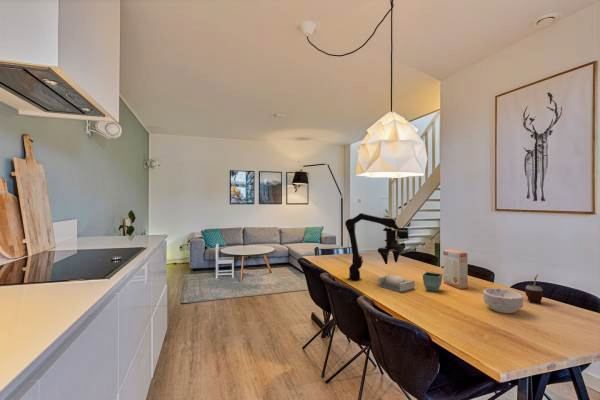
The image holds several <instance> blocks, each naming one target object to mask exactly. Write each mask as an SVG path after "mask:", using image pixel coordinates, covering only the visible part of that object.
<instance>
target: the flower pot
mask: <svg viewBox="0 0 600 400" xmlns="http://www.w3.org/2000/svg"><path fill="white" fill-rule="evenodd" d="M442 281H443V273H435V272H429V271H425V272H424V273H423V274H422V282H423V285H424V287H425V289H426V291H430V292H438V291H439V289H440V288H441V285H442Z"/></svg>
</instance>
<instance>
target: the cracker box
mask: <svg viewBox="0 0 600 400" xmlns="http://www.w3.org/2000/svg"><path fill="white" fill-rule="evenodd" d="M442 253H443V256H442V258H443V283H444V284H446V285H448V286H451V287H453V288H456V289H459V290H464V289H466V290H467V289H468V283H469V282H468V275H469V274H468V253H467V252H465V251H459V250H456V249H455V250H454V249H451V248H450V249H443V252H442Z"/></svg>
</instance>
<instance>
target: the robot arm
mask: <svg viewBox="0 0 600 400" xmlns="http://www.w3.org/2000/svg"><path fill="white" fill-rule="evenodd" d="M361 220H363V221H368V222H372V223H376V224H380V225H382V226H385V227H384V228H383V229H382V231H383V232H385V239H384V242H386V243H385V244H386V245H384V247H379V248H377V253H378V254H380V256H381V257H382V260H383V262H384V264H385V265H388V261H389V260H388V259H389V255H390V252H392V256H393V260H394V263H397V262H398V260H399V257H400V255H401V254H402V253H403V252H404V251H405V249H406V243H404V242H401V243H399V241H398V239H408V240H409V230H408V229H409V227H399V226H398V225H397V224H396V223H397V221H396V220H395V218H393V217H380V216H375V215H370V214H366V213H358V214H357V215H356V216H355V217H353V218H348V219H346V221H345V222H344V225H345V227H346V228H345V229H346V230H347V232H348V235H349V241H350V246H351V252H352V253H351V254H352V263H351V265H350V266H349V268H348V269H349V274H348V275H349V277H348V278H347V280H350V281H352V282H358V281H362V278H361V272H360V269H361V268H362V266H363V263H364V260H363V255H360V253H359V247H358V242H357V236H356V224H357V223H359V222H360V221H361ZM396 238H398V239H396Z"/></svg>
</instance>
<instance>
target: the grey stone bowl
mask: <svg viewBox="0 0 600 400" xmlns="http://www.w3.org/2000/svg"><path fill="white" fill-rule="evenodd" d="M482 294H483V296H482V297H483V298H482V300H483V302H484V303H485V304H486V305H488V307H489V309H491V310H493V311H495V312H498V313H504V314H513V313H516V312H518V310H519V309H522V308H523V307H524V301H523V300H524V296H523V295H522V294H521V293H519V292H517V291H514V290H513V291H512V290H509V289H504V288H496V287H495V288H493V287H491V288H485V289H483V292H482Z"/></svg>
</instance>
